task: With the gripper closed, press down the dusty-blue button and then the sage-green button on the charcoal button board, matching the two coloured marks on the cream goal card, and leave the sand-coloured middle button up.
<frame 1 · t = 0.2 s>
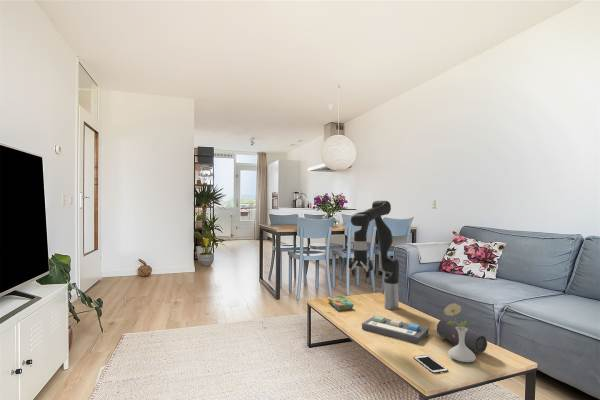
hand: (360, 277, 186), 29 cm above the table, fingers open, 8 cm apart
puzzle game: (339, 306, 225), on the table
cell phone: (430, 365, 143), on the table
button board: (394, 331, 180), on the table
button sand: (396, 324, 181), point 3 cm above the table, slide at 0.0 cm
button blue: (413, 328, 175), point 3 cm above the table, slide at 0.0 cm
bluetooth speaker: (460, 346, 161), on the table
flower in vase: (459, 359, 148), on the table
button sage: (379, 320, 188), point 3 cm above the table, slide at 0.0 cm
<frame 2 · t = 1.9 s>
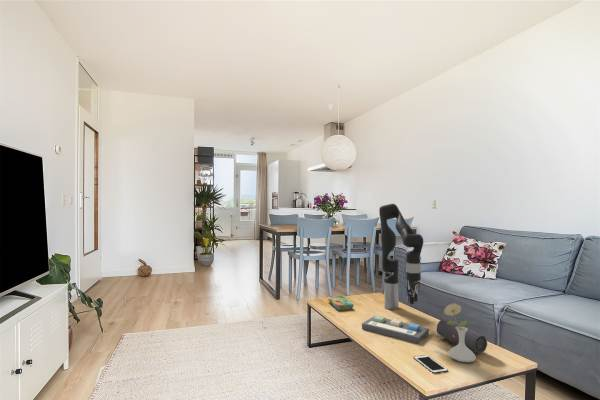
hand: (413, 302, 175), 17 cm above the table, fingers open, 5 cm apart
nothing on the table moved.
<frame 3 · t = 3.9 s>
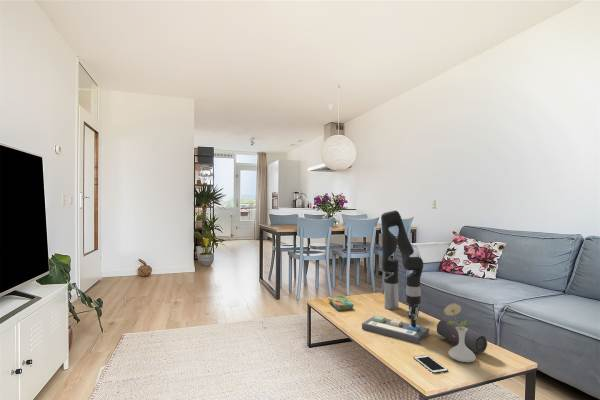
hand: (413, 326, 175), 5 cm above the table, fingers closed
button blue: (413, 329, 175), point 3 cm above the table, slide at 0.4 cm, touching gripper
everything else where it was.
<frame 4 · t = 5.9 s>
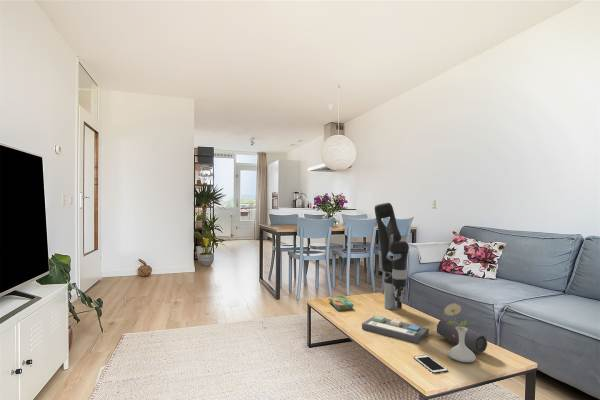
hand: (399, 308, 181), 13 cm above the table, fingers closed
button blue: (413, 330, 175), point 2 cm above the table, slide at 1.1 cm
everything else where it was.
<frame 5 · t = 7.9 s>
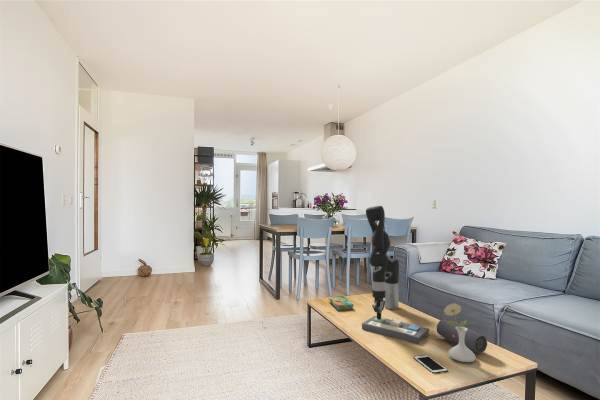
hand: (379, 318, 188), 4 cm above the table, fingers closed
button sage: (379, 321, 188), point 2 cm above the table, slide at 0.8 cm, touching gripper
everything else where it was.
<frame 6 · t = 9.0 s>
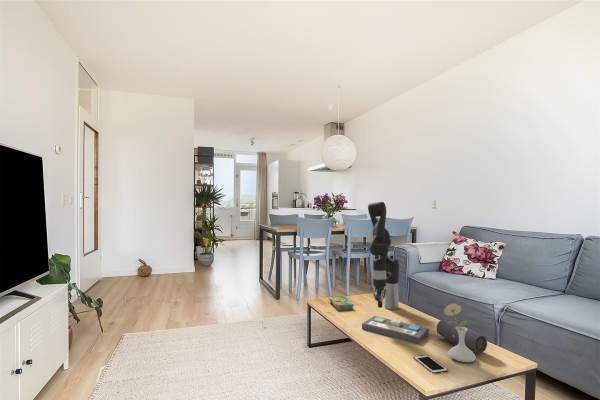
hand: (380, 307, 188), 11 cm above the table, fingers closed
button sage: (379, 322, 188), point 2 cm above the table, slide at 1.1 cm
everything else where it was.
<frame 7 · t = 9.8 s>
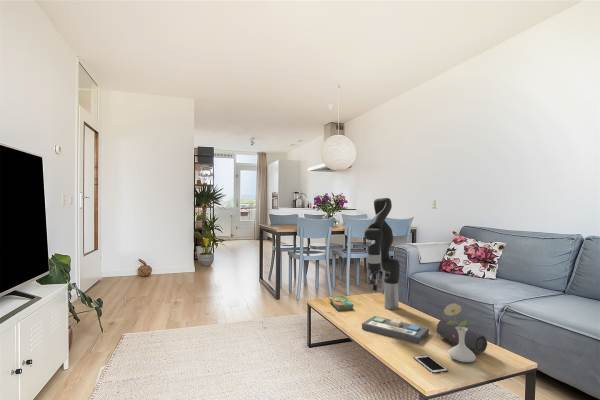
hand: (375, 290, 194), 19 cm above the table, fingers closed
nothing on the table moved.
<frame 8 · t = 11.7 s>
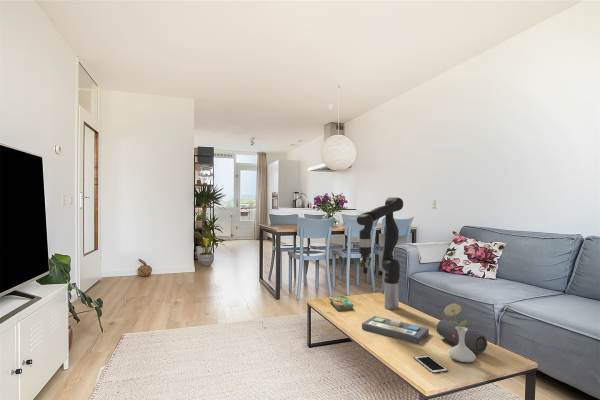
hand: (365, 273, 205), 27 cm above the table, fingers closed
nothing on the table moved.
at the end: button blue slide at 1.1 cm; button sage slide at 1.1 cm; button sand slide at 0.0 cm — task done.
